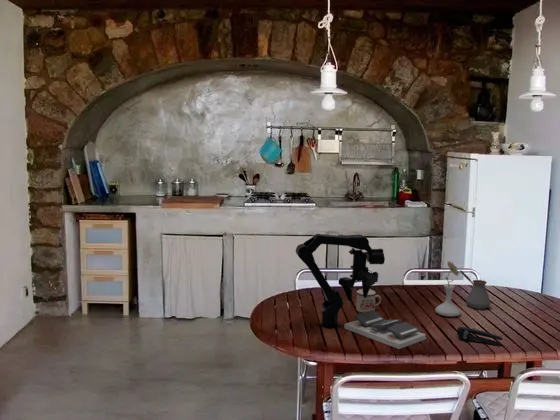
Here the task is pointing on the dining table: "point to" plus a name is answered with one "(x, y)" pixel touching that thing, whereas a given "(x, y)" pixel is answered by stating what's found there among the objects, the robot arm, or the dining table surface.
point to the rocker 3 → (403, 329)
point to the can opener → (467, 336)
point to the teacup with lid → (366, 301)
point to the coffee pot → (477, 294)
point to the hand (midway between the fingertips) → (357, 299)
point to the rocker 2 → (385, 323)
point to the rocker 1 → (369, 318)
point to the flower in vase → (449, 297)
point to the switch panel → (384, 335)
